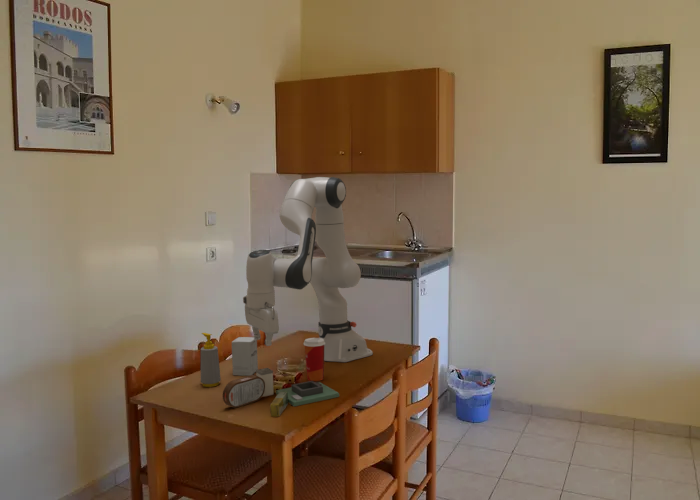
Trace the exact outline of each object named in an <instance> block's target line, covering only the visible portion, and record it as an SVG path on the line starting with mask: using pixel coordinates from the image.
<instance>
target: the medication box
mask: <svg viewBox="0 0 700 500" xmlns="http://www.w3.org/2000/svg"><path fill="white" fill-rule="evenodd" d="M288 404H289V403H288V393H287V391H280V392H279V393H278V395H277V394H276V396H275V398H274V399H273V400H272V402H271V403H270V405H269V408H270V409H269V411H270V416H271V417H280V416H281V415H282V413H283V412H284V410H285V409H286V407H287V406H288Z"/></svg>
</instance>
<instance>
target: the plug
mask: <svg viewBox="0 0 700 500" xmlns="http://www.w3.org/2000/svg"><path fill="white" fill-rule="evenodd" d="M255 373H256V374H255V375H257V376H258V377H260V378H262V379H263V380H264V382H265V391H264V394H263V396H262V397H268V396H273V395H275V394H274V375H273V374H274V370H272V369H271V368H269V367H265V368H264V367H263V368H260V369H259V368H258V370H256V372H255ZM262 397H261V398H262Z"/></svg>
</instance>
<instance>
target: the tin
mask: <svg viewBox="0 0 700 500" xmlns="http://www.w3.org/2000/svg"><path fill="white" fill-rule="evenodd" d="M264 391H265V382H264V380H263V379H262V378H260V377H258V376H257V375H256V374H253V375H250V376H242V377H239V378H236V379H233V380H230V381H229V382H228V383H226V385H225V386H224V389H223V391H222V400H223V402H224V404H225V405H226V406H228V407H231V408H239V407H242V406H245V405H246V406H247V405H249V404H252V403H255V402H258V401H259V400H261V398H262V396H263V394H264Z"/></svg>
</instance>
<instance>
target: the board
mask: <svg viewBox="0 0 700 500" xmlns="http://www.w3.org/2000/svg"><path fill="white" fill-rule="evenodd" d="M280 391H287V393H288V404H290V405H291V406H293V407H298V406H302V405H307V404H312V403H316V402H322V401H326V400H330V399H331V400H332V399H336V398H339V397H340V393H339V392H338V391H336V390H335V389H333V388H331V387H329V386H327V385H326V384H324V383H322V382H321V381H309V380H307V381H304V382H299V383H294V384H291V387H287V388H286V387H285V388H281V389H277V390H275V394H276V396H277V395H278V393H279V392H280Z"/></svg>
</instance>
